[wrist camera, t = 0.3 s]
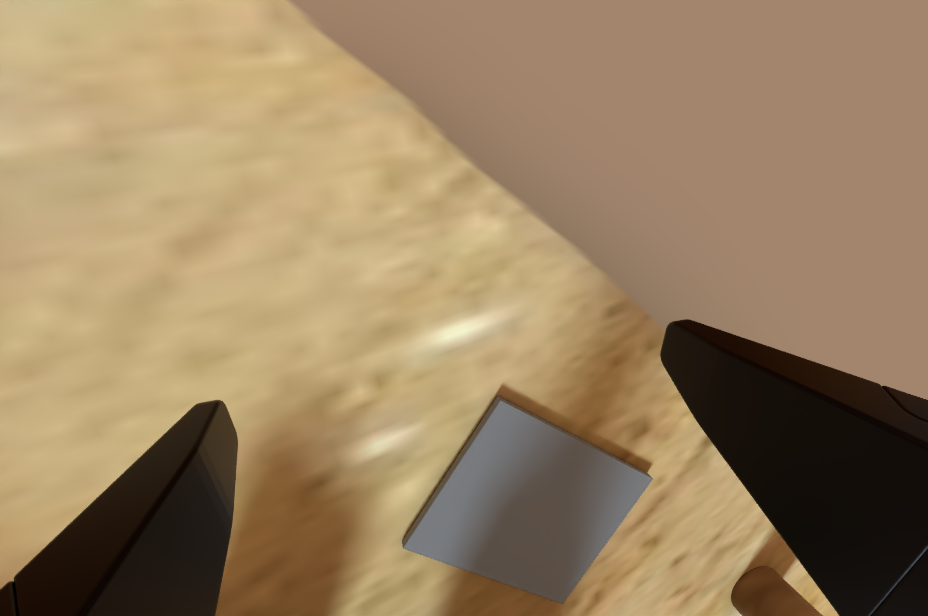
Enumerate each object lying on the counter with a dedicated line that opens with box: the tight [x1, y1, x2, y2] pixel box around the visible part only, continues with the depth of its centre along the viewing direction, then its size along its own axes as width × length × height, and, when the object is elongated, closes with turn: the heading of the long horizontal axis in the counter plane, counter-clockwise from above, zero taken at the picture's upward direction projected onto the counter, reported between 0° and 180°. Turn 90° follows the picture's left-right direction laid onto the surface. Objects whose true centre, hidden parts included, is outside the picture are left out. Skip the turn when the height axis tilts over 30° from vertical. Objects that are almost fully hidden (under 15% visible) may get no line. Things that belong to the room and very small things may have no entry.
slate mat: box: [402, 396, 653, 604], centre depth 30 cm, size 11×13×1 cm
